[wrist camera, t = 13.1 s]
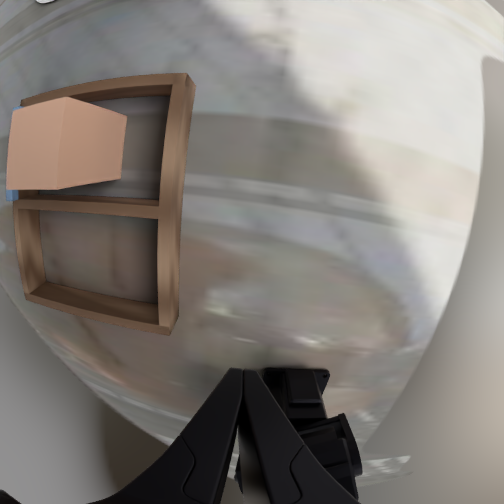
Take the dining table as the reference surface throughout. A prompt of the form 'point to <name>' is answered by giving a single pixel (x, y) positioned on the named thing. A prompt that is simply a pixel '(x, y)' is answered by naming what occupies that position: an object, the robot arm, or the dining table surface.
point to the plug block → (64, 145)
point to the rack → (115, 211)
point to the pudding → (44, 1)
